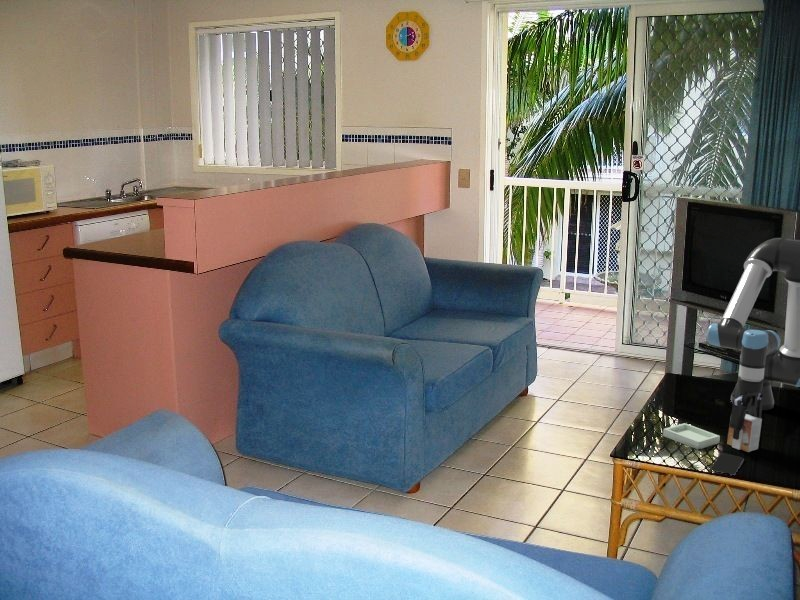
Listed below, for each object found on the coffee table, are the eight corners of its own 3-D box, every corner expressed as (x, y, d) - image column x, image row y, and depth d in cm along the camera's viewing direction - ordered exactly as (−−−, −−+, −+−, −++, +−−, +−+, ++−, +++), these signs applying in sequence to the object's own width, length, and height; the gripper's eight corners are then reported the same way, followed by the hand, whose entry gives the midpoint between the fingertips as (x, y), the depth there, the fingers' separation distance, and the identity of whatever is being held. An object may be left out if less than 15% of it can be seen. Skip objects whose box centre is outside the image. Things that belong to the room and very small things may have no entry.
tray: (684, 429, 297) (684, 423, 296) (719, 443, 286) (719, 435, 285) (662, 435, 291) (663, 428, 290) (697, 449, 279) (698, 442, 279)
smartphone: (709, 469, 263) (720, 452, 275) (709, 472, 263) (720, 455, 276) (734, 475, 259) (744, 457, 272) (734, 478, 259) (744, 461, 272)
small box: (726, 444, 285) (730, 414, 282) (736, 441, 288) (740, 411, 286) (748, 452, 278) (752, 421, 276) (758, 449, 281) (762, 418, 279)
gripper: (757, 371, 286) (750, 437, 291) (722, 379, 276) (714, 448, 281) (778, 377, 280) (770, 444, 285) (743, 385, 270) (734, 455, 274)
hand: (742, 446), depth 283 cm, fingers open, 6 cm apart
